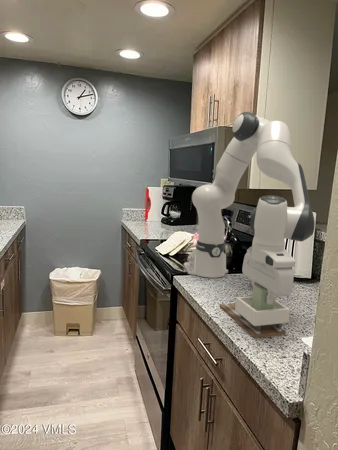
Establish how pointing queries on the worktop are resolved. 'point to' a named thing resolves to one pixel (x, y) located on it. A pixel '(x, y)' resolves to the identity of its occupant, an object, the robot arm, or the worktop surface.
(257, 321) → the square white tray
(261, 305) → the block
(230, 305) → the track
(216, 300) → the worktop surface
